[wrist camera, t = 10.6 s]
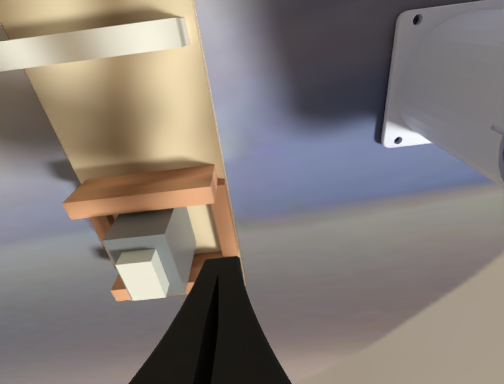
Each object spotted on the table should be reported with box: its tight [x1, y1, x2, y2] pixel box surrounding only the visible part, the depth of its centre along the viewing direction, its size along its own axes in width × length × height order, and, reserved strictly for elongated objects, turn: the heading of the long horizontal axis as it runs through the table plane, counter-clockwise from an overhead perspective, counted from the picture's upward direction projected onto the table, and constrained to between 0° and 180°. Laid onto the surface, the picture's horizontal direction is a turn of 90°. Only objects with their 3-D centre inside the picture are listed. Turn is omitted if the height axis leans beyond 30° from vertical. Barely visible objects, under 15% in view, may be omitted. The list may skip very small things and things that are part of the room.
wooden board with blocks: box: [0, 0, 245, 301], centre depth 17 cm, size 10×32×4 cm, turn 6°
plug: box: [102, 207, 196, 301], centre depth 19 cm, size 4×5×6 cm
